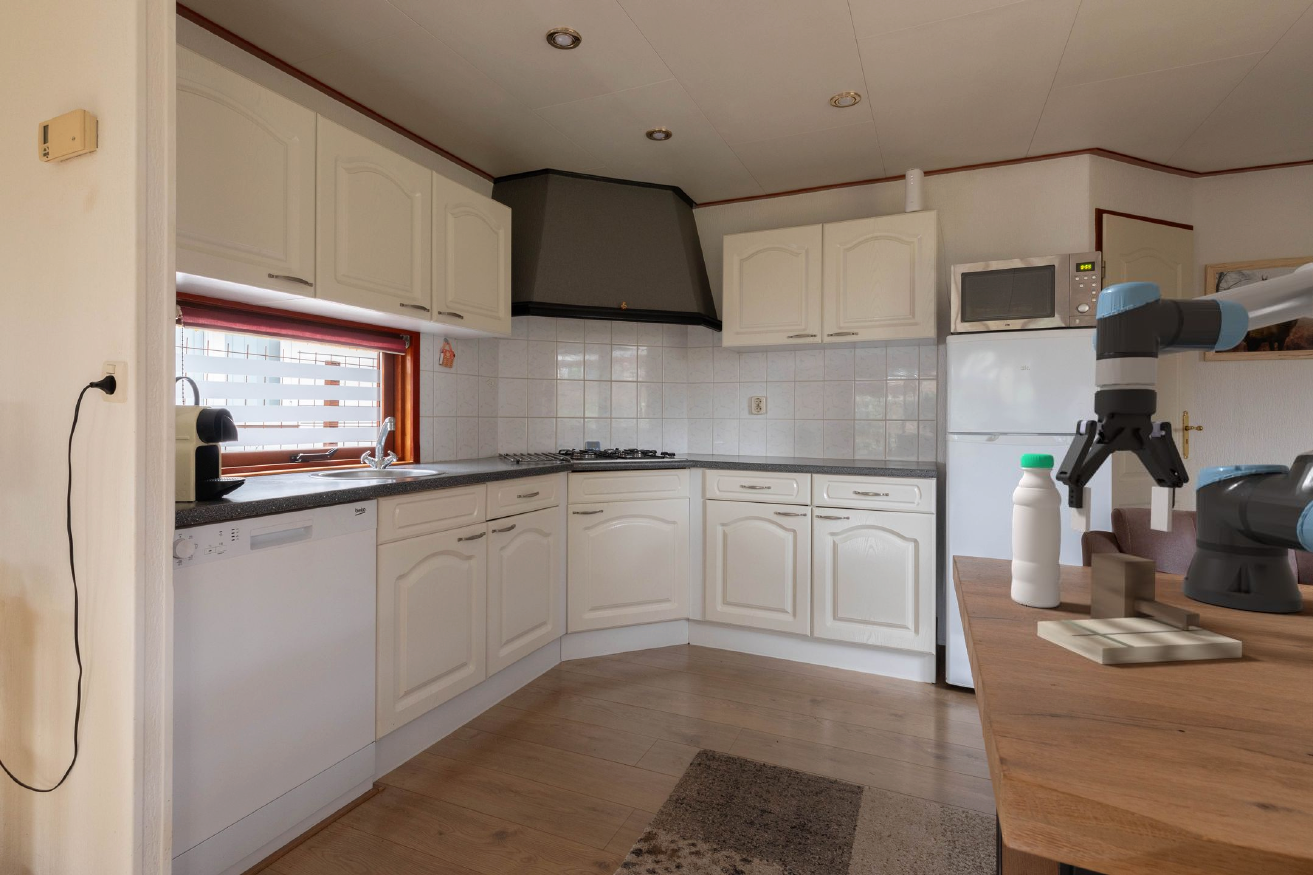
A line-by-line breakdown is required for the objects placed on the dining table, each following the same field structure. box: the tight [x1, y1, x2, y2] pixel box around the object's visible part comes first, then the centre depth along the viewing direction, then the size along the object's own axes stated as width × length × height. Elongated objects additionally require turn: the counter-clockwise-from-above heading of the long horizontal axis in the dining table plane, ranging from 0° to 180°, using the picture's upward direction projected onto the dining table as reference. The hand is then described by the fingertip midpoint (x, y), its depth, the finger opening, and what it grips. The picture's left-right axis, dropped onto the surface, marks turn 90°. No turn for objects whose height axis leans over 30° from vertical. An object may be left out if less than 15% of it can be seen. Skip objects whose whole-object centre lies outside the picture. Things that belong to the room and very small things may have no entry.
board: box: [1037, 616, 1243, 665], centre depth 86 cm, size 20×11×2 cm, turn 98°
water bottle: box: [1010, 453, 1063, 609], centre depth 107 cm, size 7×7×25 cm
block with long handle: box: [1090, 552, 1201, 630], centre depth 92 cm, size 5×14×10 cm, turn 8°
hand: (1120, 530), depth 96 cm, fingers open, 13 cm apart
